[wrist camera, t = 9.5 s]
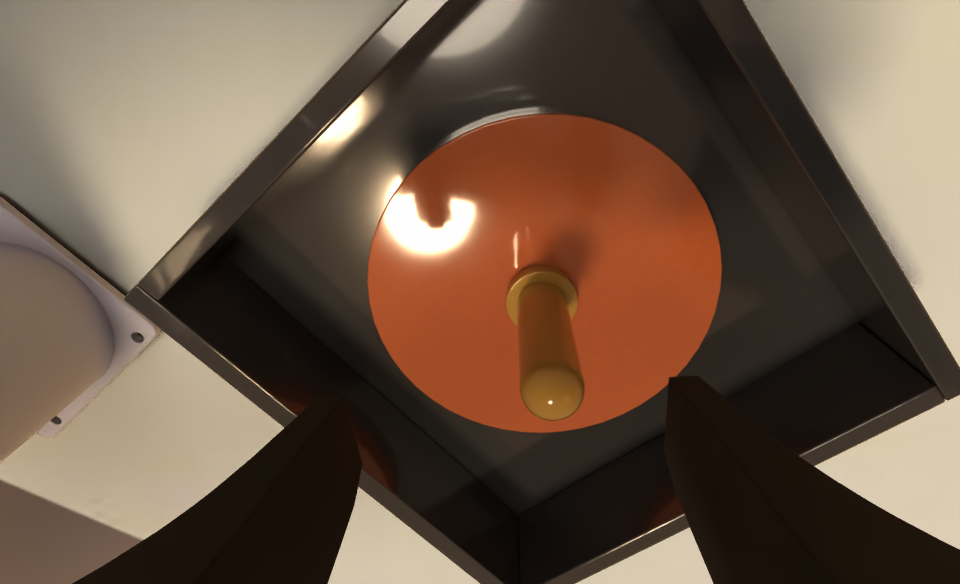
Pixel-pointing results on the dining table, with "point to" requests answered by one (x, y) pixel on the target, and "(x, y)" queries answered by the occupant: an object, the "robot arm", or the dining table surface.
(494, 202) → the orange round pegged disc
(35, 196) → the dining table surface
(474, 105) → the tray
